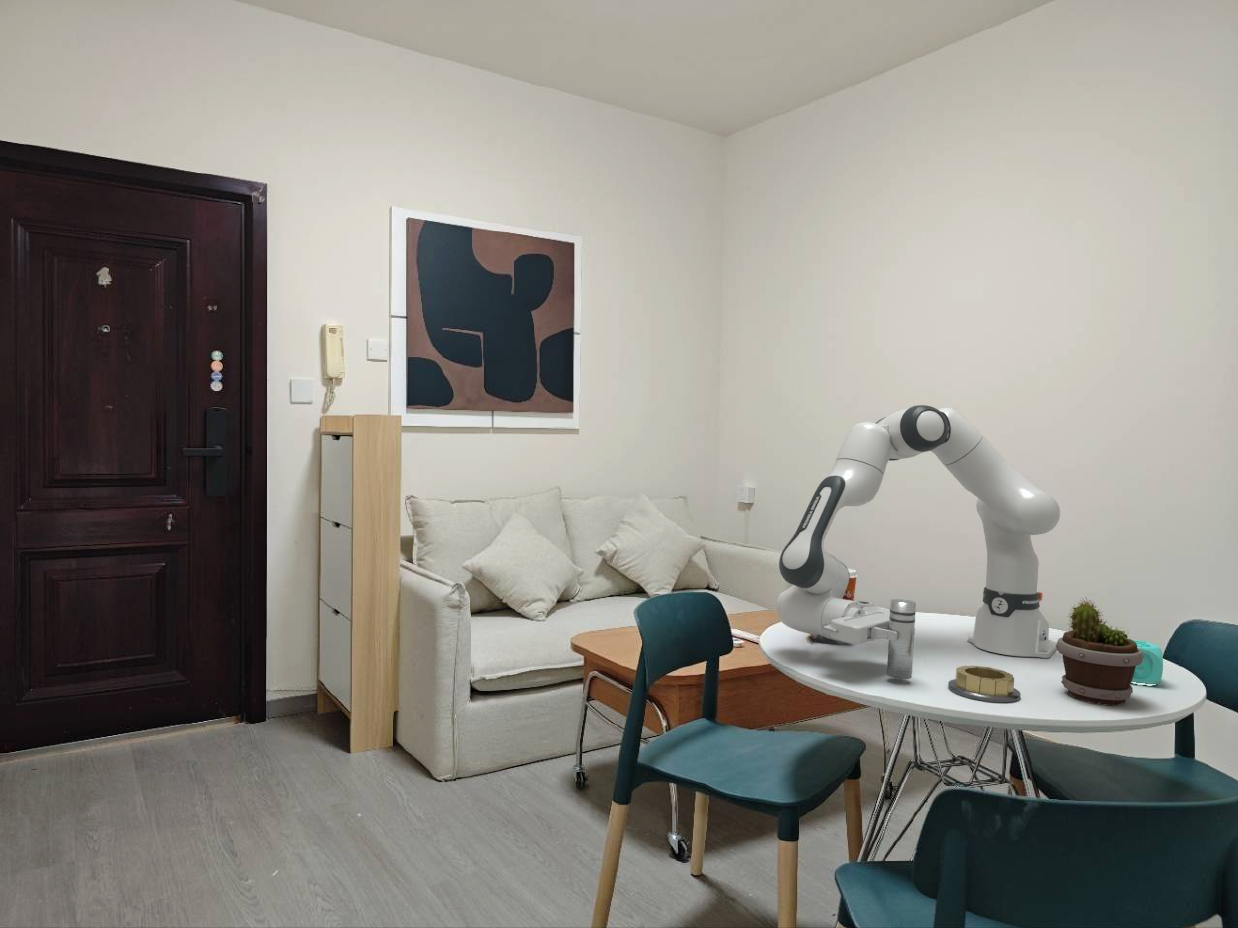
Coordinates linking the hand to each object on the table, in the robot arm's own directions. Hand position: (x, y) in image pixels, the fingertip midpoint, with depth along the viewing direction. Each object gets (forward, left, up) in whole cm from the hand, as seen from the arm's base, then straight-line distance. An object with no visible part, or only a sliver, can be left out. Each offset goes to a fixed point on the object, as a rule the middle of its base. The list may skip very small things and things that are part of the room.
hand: (905, 634), depth 171 cm
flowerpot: (-24, +28, -10) cm, 38 cm away
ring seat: (-8, +13, -10) cm, 18 cm away
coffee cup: (-32, -35, -10) cm, 48 cm away
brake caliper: (-18, -29, -10) cm, 35 cm away
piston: (0, -1, -9) cm, 9 cm away
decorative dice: (-45, +29, -10) cm, 54 cm away
